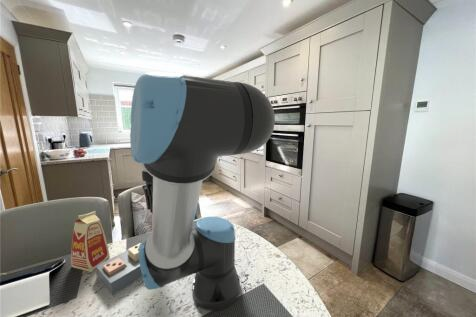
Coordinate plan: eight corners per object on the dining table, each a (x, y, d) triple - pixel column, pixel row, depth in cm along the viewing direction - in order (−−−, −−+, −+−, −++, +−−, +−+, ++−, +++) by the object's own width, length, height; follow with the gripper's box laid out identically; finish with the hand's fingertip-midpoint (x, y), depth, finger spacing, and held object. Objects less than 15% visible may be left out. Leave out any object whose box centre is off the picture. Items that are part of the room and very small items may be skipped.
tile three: (126, 271, 66) (125, 262, 65) (110, 280, 62) (109, 271, 61) (119, 265, 69) (118, 257, 68) (104, 273, 65) (103, 265, 64)
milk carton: (91, 271, 69) (83, 219, 66) (70, 267, 71) (61, 217, 67) (112, 255, 78) (106, 208, 74) (93, 251, 80) (86, 206, 76)
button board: (175, 255, 78) (174, 245, 77) (112, 295, 60) (110, 283, 59) (158, 244, 85) (157, 235, 84) (97, 277, 66) (95, 266, 66)
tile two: (148, 254, 72) (147, 246, 71) (135, 262, 68) (134, 253, 68) (141, 249, 75) (140, 242, 74) (128, 256, 71) (127, 248, 70)
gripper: (172, 169, 71) (175, 229, 75) (152, 165, 79) (156, 219, 83) (153, 173, 65) (157, 237, 69) (133, 168, 73) (139, 227, 77)
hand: (157, 227), depth 76 cm, fingers closed
